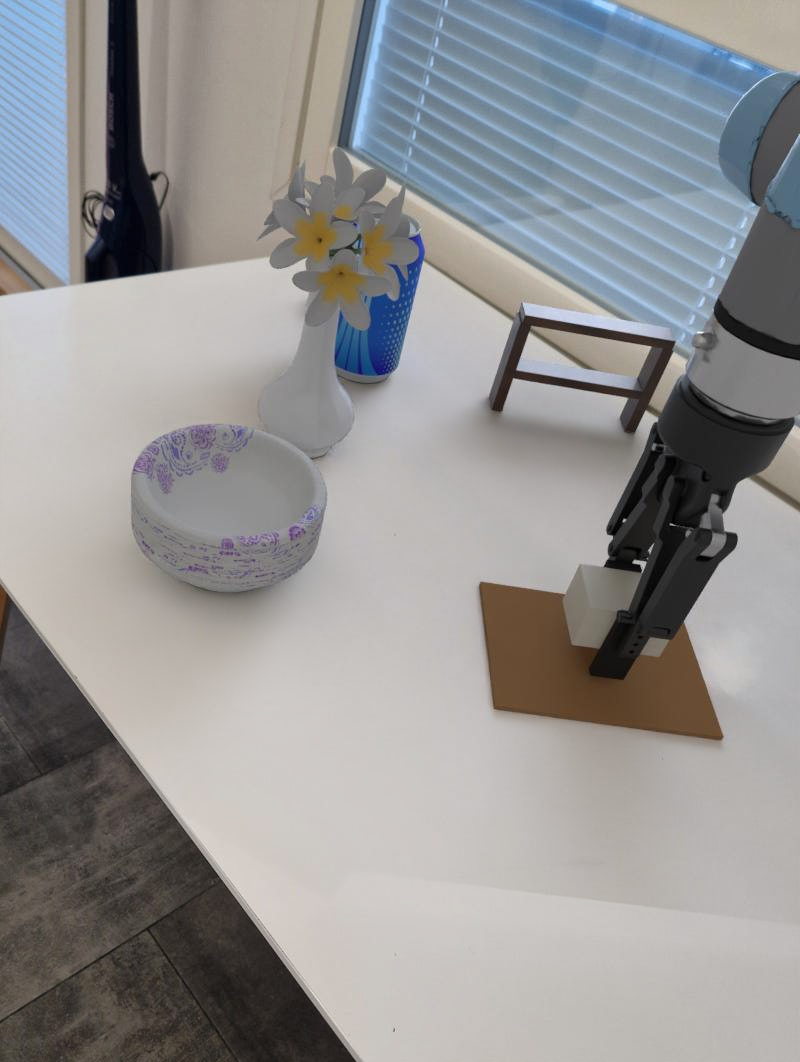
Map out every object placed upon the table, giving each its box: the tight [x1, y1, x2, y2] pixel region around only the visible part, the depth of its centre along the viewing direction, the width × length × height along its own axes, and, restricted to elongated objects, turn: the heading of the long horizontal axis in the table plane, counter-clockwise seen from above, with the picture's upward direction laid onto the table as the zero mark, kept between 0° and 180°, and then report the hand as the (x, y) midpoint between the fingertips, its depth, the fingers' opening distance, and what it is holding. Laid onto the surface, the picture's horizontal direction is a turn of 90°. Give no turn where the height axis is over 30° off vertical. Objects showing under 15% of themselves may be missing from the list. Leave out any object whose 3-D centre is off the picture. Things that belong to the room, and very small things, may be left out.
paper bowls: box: [130, 423, 328, 593], centre depth 72 cm, size 15×15×8 cm
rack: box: [488, 301, 677, 434], centre depth 96 cm, size 16×3×11 cm, turn 87°
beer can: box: [335, 212, 426, 384], centre depth 94 cm, size 8×8×16 cm
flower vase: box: [255, 147, 419, 459], centre depth 79 cm, size 13×18×25 cm
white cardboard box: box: [562, 563, 669, 657], centre depth 69 cm, size 7×5×4 cm
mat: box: [479, 581, 724, 741], centre depth 73 cm, size 18×14×1 cm
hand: (599, 647), depth 72 cm, fingers closed on white cardboard box, 5 cm apart
